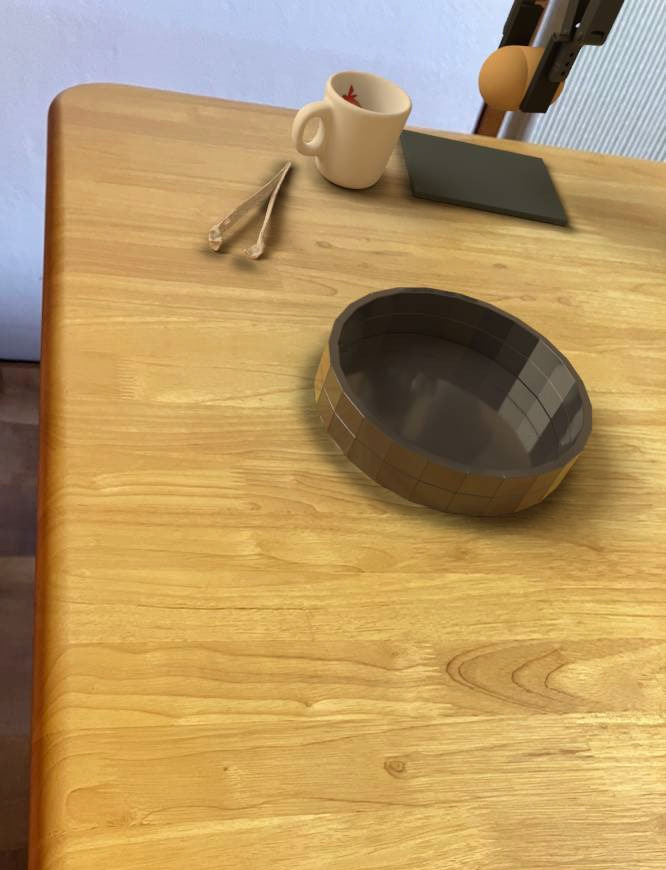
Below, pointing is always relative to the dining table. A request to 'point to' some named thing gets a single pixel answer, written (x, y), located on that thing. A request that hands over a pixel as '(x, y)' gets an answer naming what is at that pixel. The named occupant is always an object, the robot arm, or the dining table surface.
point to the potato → (510, 76)
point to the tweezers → (243, 208)
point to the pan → (451, 401)
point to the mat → (480, 177)
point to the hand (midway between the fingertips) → (516, 93)
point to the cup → (354, 127)
